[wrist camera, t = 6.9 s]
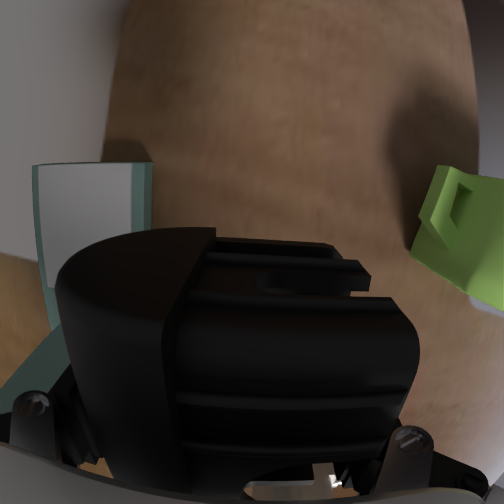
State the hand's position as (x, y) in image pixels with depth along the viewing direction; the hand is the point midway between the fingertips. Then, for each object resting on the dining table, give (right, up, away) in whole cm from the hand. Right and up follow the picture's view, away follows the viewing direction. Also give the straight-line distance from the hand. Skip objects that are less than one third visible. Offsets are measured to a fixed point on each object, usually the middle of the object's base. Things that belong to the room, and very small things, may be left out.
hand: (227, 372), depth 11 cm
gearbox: (+22, +6, +15) cm, 28 cm away
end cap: (0, 0, +1) cm, 1 cm away
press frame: (-13, +4, +16) cm, 21 cm away
